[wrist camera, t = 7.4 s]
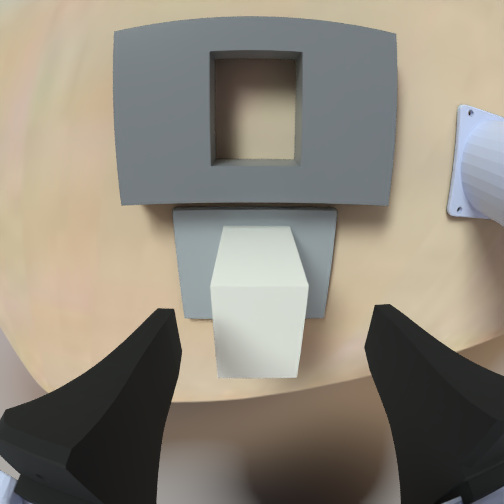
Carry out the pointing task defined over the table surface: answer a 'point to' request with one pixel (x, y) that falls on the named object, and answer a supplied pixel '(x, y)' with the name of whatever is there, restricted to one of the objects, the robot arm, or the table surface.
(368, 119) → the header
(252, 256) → the plug
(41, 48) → the table surface
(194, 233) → the mat
